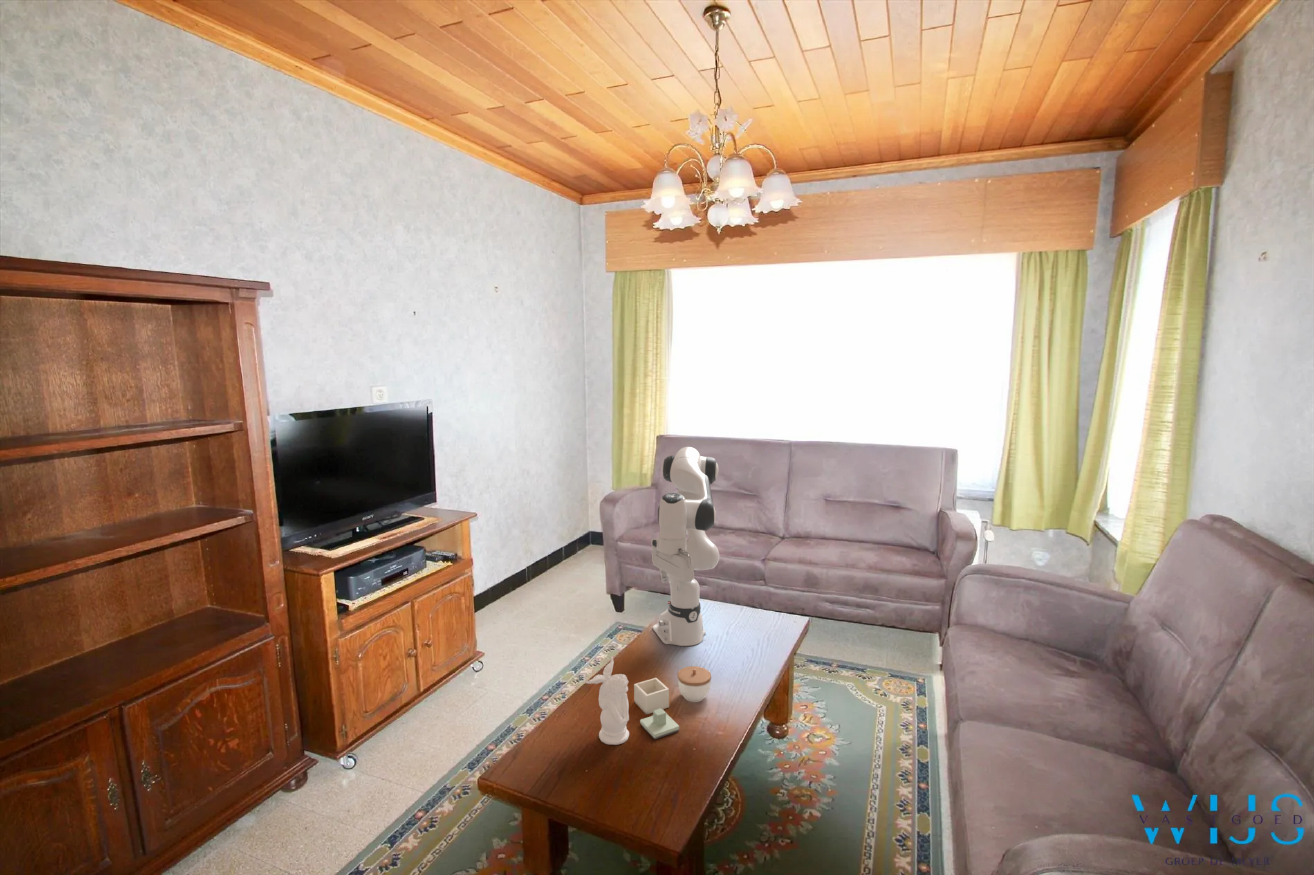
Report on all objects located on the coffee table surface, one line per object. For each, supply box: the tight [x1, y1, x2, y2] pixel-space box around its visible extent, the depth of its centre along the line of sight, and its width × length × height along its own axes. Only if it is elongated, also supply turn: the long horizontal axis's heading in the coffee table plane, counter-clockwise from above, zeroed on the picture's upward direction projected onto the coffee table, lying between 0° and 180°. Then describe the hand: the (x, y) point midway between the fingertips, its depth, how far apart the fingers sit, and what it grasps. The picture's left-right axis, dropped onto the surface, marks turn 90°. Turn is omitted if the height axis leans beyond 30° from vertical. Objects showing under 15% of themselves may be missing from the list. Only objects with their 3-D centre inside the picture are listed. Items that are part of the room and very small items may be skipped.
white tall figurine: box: [584, 655, 630, 746], centre depth 174 cm, size 12×12×22 cm
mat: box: [640, 723, 679, 740], centre depth 179 cm, size 8×8×1 cm
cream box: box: [633, 677, 670, 715], centre depth 191 cm, size 8×8×6 cm
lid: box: [639, 708, 680, 739], centre depth 179 cm, size 8×8×4 cm
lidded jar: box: [677, 665, 712, 703], centre depth 195 cm, size 11×11×9 cm
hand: (672, 587), depth 196 cm, fingers open, 8 cm apart
